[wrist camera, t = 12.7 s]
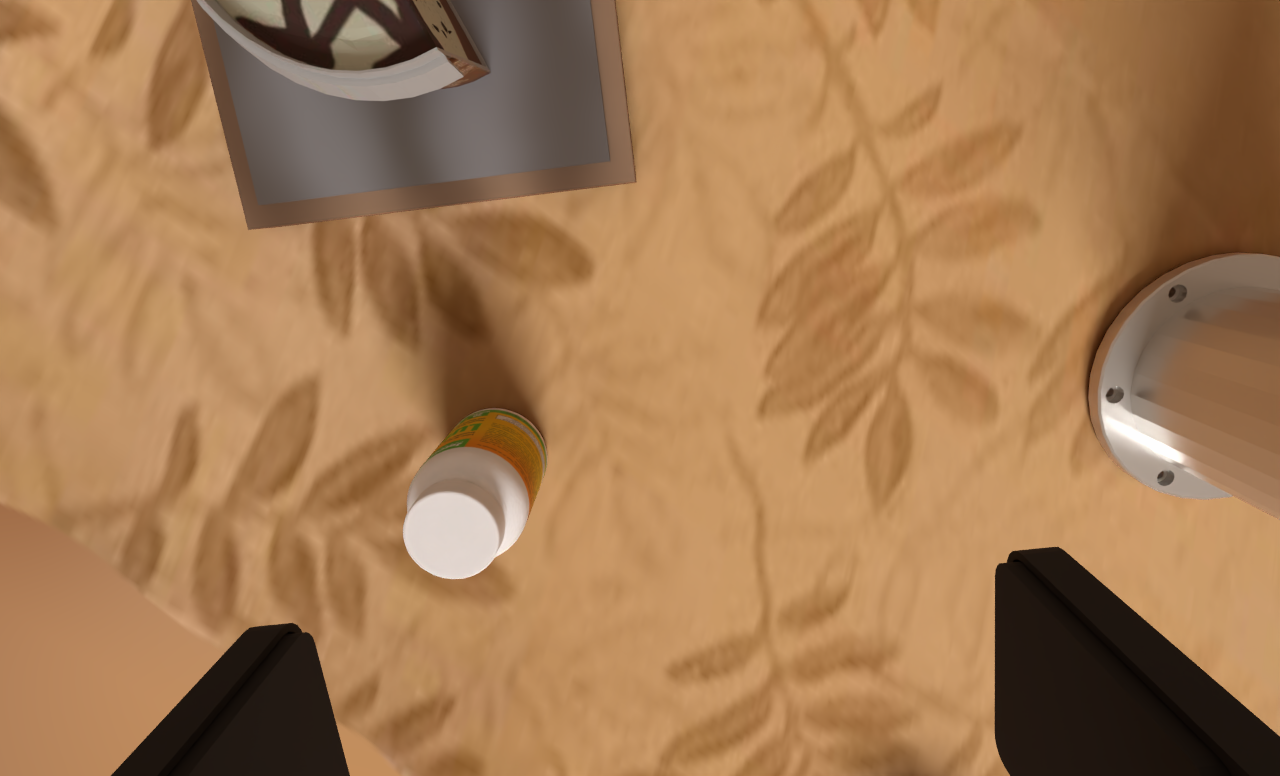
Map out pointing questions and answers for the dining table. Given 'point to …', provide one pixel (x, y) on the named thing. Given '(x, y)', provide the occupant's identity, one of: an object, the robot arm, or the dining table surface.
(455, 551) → the supplement bottle
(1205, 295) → the robot arm
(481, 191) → the podium
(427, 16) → the food container
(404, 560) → the dining table surface
